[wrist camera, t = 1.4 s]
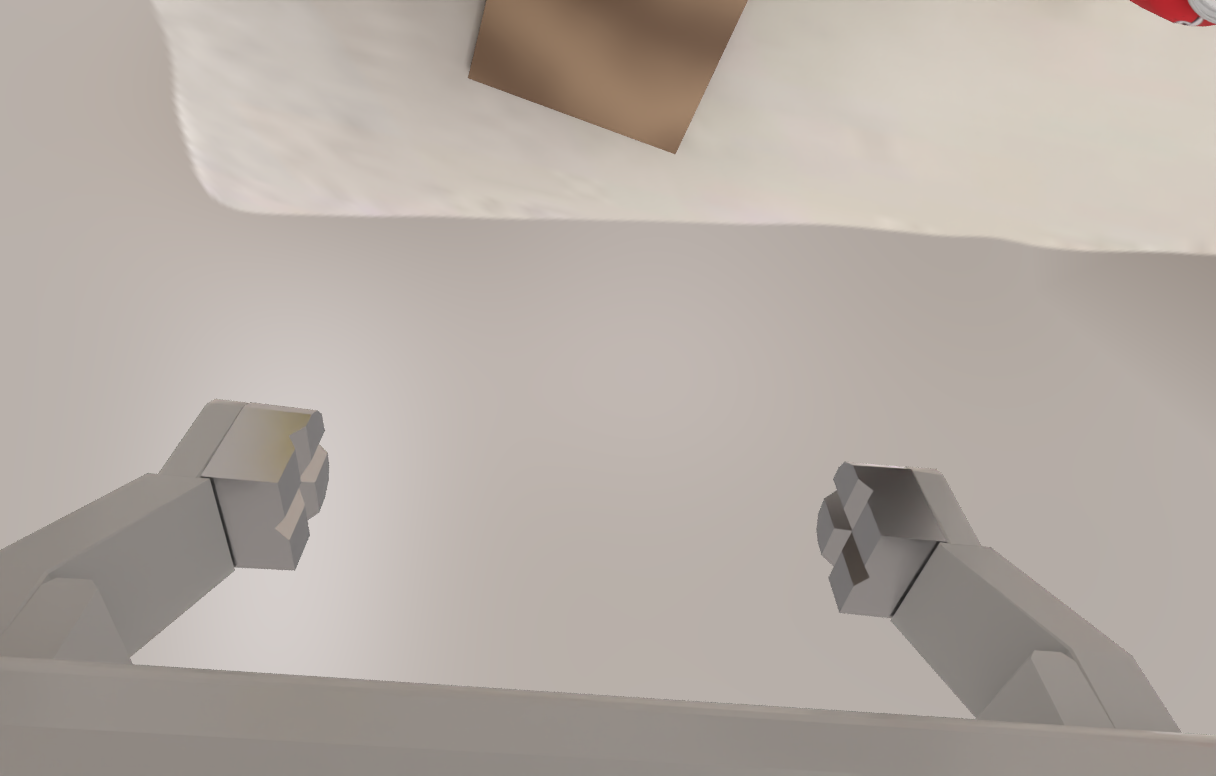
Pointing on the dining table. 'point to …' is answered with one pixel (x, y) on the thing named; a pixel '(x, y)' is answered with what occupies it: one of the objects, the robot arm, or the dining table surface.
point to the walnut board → (608, 59)
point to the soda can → (1182, 11)
